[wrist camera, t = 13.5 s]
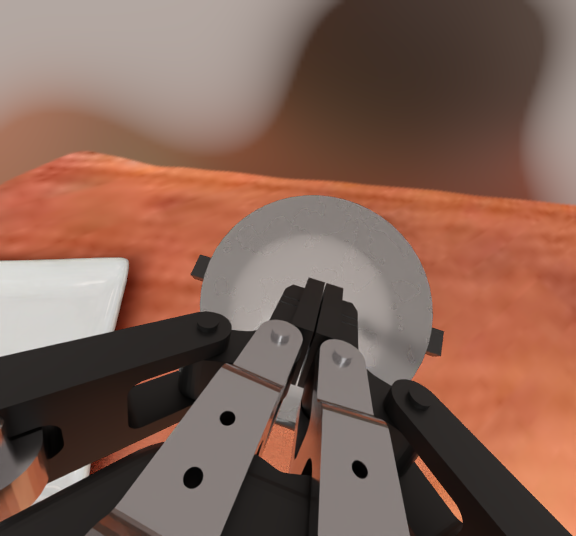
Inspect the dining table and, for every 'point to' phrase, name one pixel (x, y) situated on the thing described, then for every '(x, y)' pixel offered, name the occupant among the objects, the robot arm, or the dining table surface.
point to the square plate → (58, 311)
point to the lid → (325, 279)
